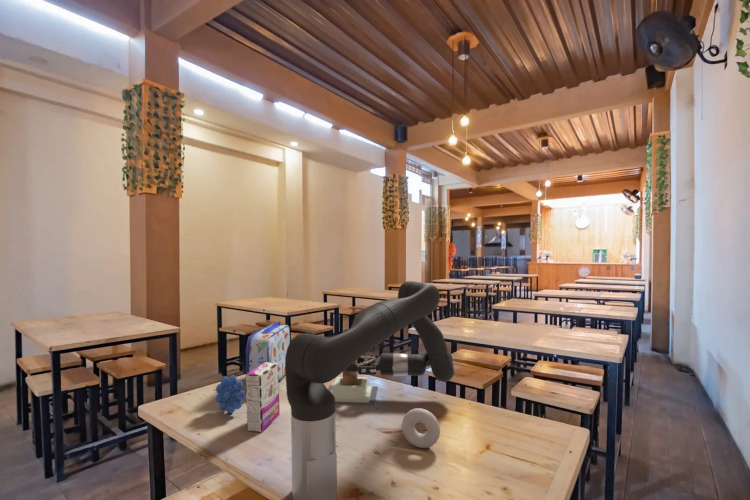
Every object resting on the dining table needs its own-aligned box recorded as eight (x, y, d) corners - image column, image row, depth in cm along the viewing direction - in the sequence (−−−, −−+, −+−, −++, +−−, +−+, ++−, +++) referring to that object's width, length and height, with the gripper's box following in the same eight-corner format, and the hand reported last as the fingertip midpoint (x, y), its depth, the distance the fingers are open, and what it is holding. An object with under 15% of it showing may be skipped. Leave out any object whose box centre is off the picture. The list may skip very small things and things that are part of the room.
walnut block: (357, 389, 130) (357, 350, 130) (355, 394, 126) (355, 353, 126) (344, 389, 131) (344, 349, 130) (342, 394, 126) (342, 353, 126)
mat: (378, 387, 136) (378, 386, 135) (374, 406, 120) (374, 405, 120) (329, 386, 137) (329, 385, 137) (319, 404, 121) (319, 403, 121)
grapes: (254, 410, 117) (254, 372, 117) (238, 419, 111) (238, 380, 111) (227, 404, 122) (226, 368, 122) (210, 413, 116) (209, 375, 116)
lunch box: (269, 369, 157) (268, 317, 157) (293, 369, 157) (292, 317, 156) (241, 395, 130) (241, 332, 130) (270, 395, 129) (270, 332, 129)
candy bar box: (265, 413, 115) (264, 361, 115) (280, 415, 114) (279, 362, 114) (245, 431, 104) (244, 373, 104) (261, 433, 103) (261, 374, 103)
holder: (372, 388, 134) (372, 376, 134) (368, 402, 122) (368, 389, 122) (334, 387, 135) (333, 375, 135) (326, 401, 123) (326, 387, 123)
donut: (400, 447, 95) (400, 408, 95) (404, 440, 98) (403, 403, 98) (438, 454, 92) (438, 414, 92) (441, 447, 95) (441, 408, 95)
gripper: (395, 347, 134) (350, 347, 135) (393, 360, 120) (344, 359, 121) (395, 368, 134) (351, 367, 135) (393, 383, 120) (344, 382, 121)
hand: (347, 363), depth 128 cm, fingers open, 8 cm apart
